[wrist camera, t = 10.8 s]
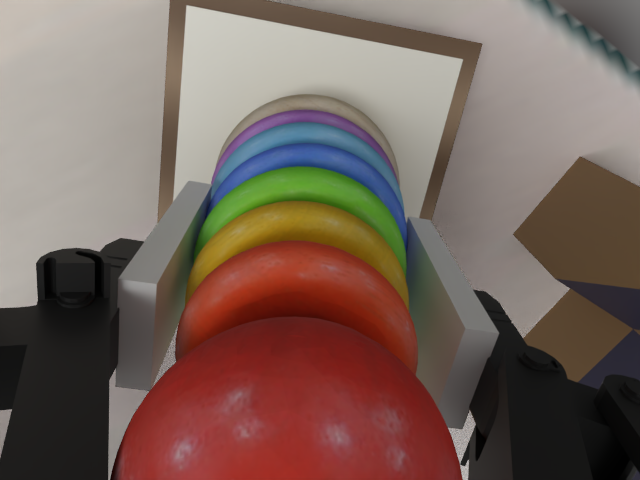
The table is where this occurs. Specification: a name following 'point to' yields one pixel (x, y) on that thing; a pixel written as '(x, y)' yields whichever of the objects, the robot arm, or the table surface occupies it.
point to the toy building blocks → (589, 273)
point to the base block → (309, 85)
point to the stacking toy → (295, 318)
